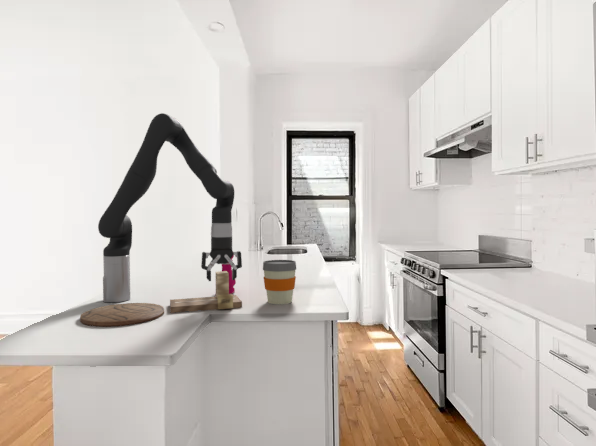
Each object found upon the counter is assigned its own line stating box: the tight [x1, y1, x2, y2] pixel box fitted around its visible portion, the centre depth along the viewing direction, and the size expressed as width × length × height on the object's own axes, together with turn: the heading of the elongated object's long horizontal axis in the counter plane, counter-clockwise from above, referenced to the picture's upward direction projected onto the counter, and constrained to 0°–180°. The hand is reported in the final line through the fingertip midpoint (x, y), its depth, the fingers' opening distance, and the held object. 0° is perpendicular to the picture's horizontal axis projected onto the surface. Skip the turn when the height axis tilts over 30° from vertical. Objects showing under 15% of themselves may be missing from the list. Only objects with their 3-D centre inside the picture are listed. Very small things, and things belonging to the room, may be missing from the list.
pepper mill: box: [221, 255, 237, 295], centre depth 171 cm, size 7×7×20 cm
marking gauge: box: [215, 270, 234, 310], centre depth 147 cm, size 5×13×11 cm, turn 18°
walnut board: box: [169, 294, 243, 314], centre depth 147 cm, size 24×12×2 cm, turn 108°
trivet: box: [79, 302, 165, 328], centre depth 133 cm, size 25×25×2 cm
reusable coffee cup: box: [262, 259, 297, 305], centre depth 153 cm, size 12×13×15 cm
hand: (221, 280), depth 148 cm, fingers open, 8 cm apart
